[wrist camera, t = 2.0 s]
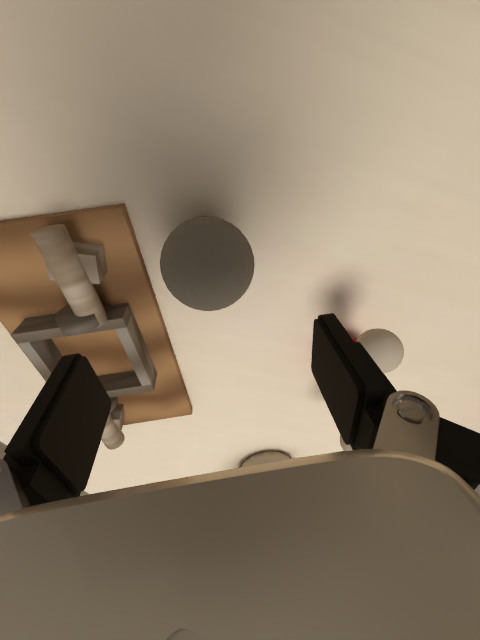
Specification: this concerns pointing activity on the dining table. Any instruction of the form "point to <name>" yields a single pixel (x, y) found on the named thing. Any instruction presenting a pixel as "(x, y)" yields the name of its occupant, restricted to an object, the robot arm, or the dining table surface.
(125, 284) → the shaft bench
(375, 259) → the dining table surface
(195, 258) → the light bulb
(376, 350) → the molecular model
